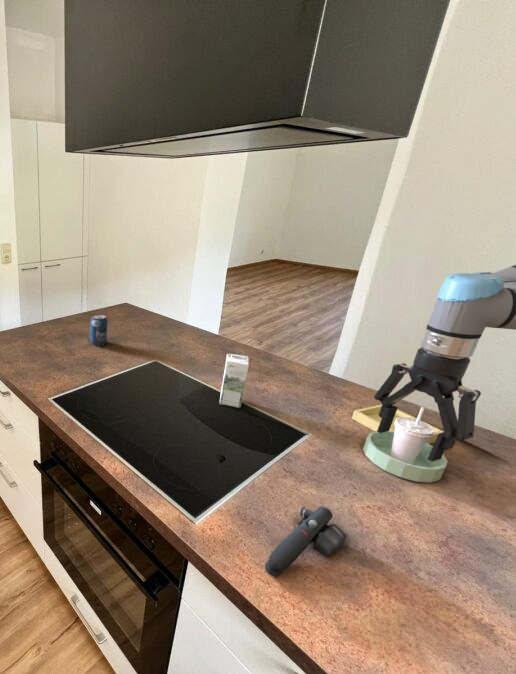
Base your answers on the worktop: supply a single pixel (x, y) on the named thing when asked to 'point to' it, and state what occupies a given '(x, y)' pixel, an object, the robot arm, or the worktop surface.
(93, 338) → the soda can
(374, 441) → the bowl
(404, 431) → the smoothie
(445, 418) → the robot arm
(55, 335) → the worktop surface
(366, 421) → the tray
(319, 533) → the can opener
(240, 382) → the syrup box
